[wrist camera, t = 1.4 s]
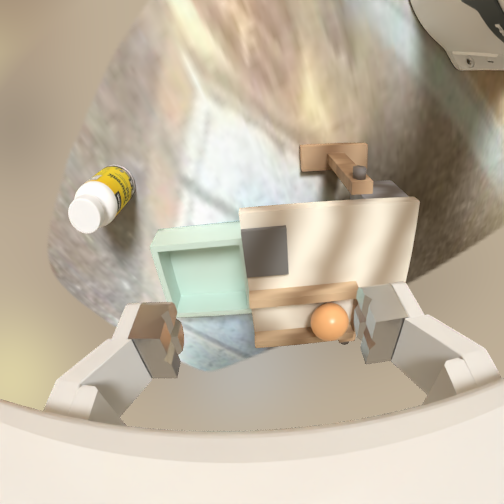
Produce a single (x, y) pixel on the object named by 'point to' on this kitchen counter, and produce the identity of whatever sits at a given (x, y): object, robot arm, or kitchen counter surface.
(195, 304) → the green square tray
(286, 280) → the lever
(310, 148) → the lever stand
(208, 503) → the robot arm
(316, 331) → the ball
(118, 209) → the supplement bottle
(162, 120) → the kitchen counter surface
